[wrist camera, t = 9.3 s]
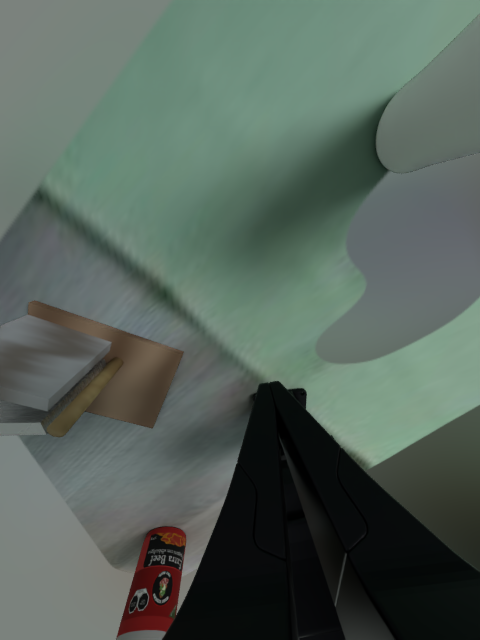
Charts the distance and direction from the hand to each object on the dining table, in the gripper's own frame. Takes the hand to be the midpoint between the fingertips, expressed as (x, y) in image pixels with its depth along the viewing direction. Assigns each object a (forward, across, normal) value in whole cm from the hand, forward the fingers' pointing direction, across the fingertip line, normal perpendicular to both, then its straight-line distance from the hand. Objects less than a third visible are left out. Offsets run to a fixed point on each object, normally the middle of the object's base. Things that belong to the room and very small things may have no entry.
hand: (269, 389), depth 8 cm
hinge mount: (+12, +17, +6) cm, 21 cm away
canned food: (+10, +22, +44) cm, 50 cm away
